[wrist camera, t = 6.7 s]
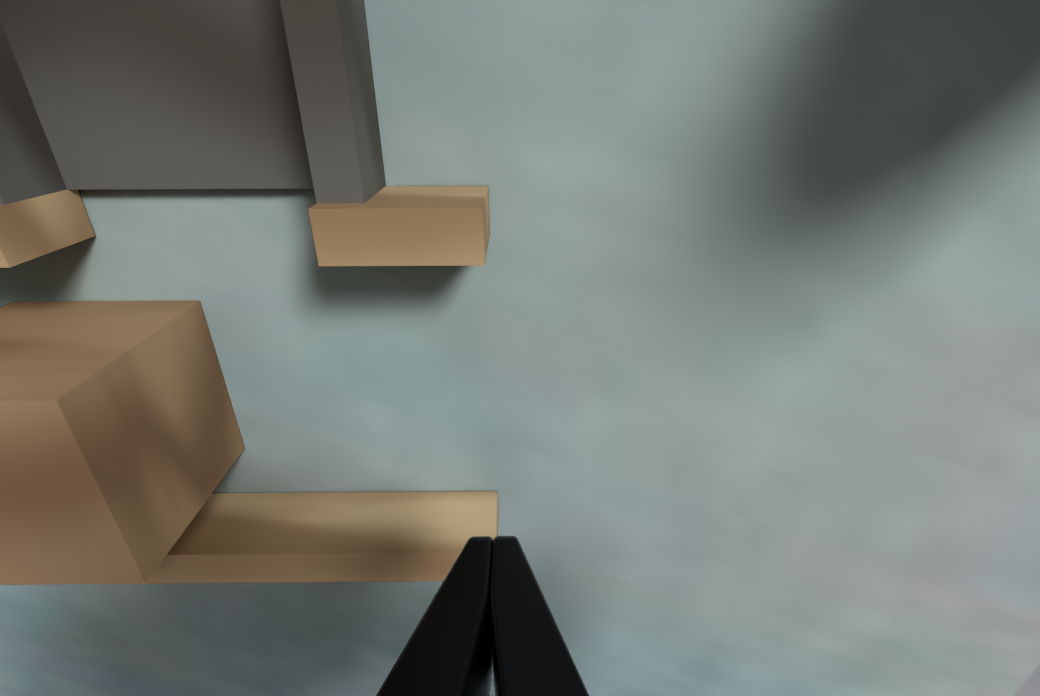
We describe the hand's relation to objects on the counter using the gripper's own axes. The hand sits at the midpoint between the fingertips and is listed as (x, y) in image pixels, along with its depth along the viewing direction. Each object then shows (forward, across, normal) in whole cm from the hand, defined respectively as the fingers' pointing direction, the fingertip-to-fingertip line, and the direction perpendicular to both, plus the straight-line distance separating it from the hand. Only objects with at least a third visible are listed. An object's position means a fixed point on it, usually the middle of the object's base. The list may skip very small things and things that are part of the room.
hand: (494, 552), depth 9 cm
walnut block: (+7, +11, 0) cm, 13 cm away
